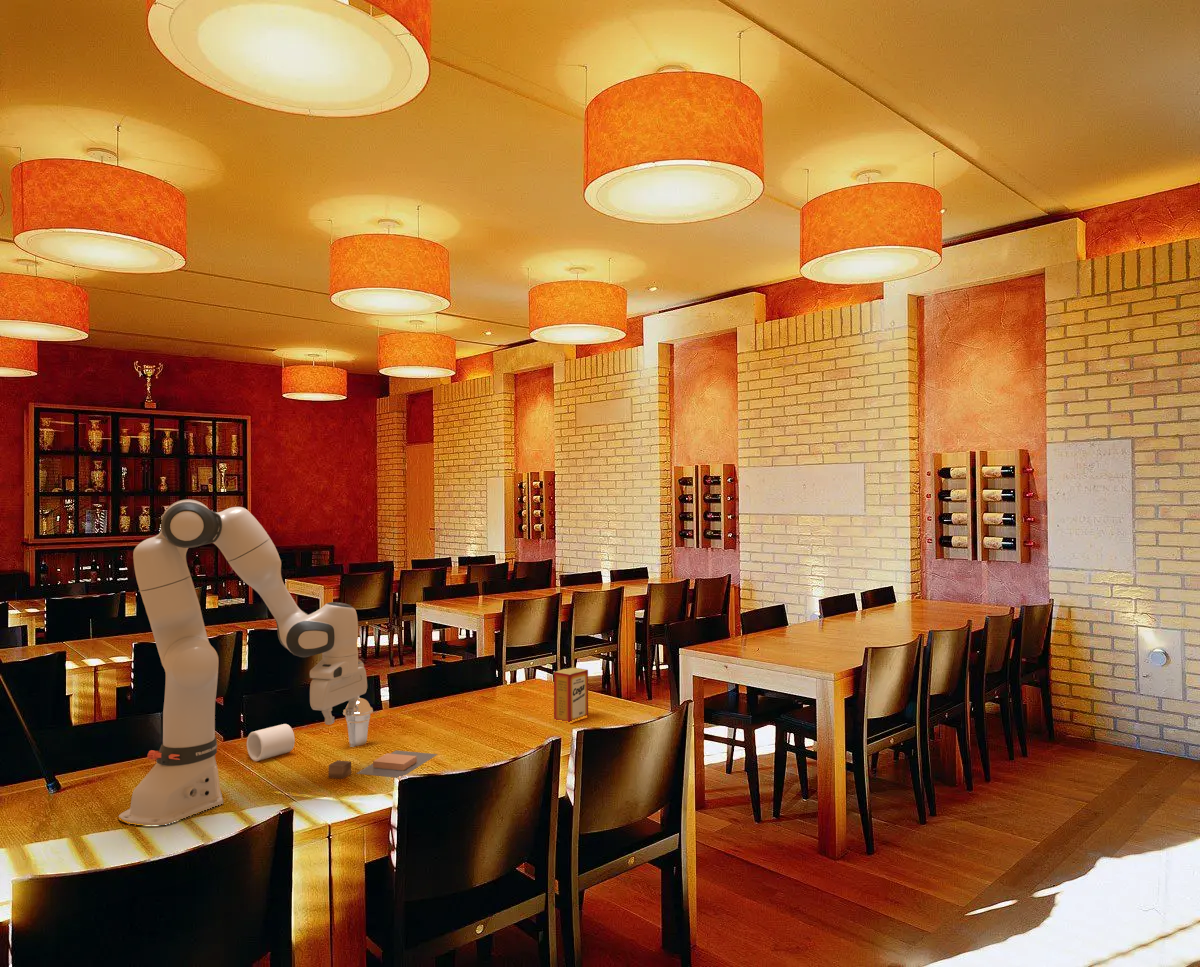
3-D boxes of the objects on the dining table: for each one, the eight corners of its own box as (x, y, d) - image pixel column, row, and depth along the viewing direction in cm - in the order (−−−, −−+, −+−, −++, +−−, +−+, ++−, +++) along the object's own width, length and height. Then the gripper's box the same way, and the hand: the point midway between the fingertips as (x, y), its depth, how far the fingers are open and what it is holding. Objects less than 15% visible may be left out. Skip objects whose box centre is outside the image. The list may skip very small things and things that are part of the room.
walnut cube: (342, 782, 207) (342, 766, 207) (328, 780, 208) (328, 765, 208) (351, 777, 210) (351, 761, 210) (337, 775, 211) (337, 760, 212)
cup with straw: (364, 751, 232) (364, 680, 232) (335, 749, 233) (335, 679, 234) (378, 742, 240) (378, 674, 240) (350, 740, 242) (350, 673, 242)
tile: (403, 764, 212) (416, 756, 219) (373, 761, 215) (387, 753, 221) (403, 770, 212) (416, 762, 219) (373, 767, 215) (387, 759, 221)
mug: (295, 754, 229) (295, 726, 230) (262, 763, 221) (262, 734, 222) (270, 747, 236) (270, 719, 237) (238, 755, 228) (238, 727, 229)
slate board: (400, 781, 207) (400, 777, 207) (355, 776, 211) (355, 773, 211) (437, 757, 226) (437, 754, 226) (396, 753, 230) (396, 750, 230)
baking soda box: (572, 714, 270) (572, 666, 271) (588, 717, 266) (587, 668, 267) (554, 720, 263) (553, 671, 263) (569, 724, 259) (569, 673, 259)
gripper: (352, 657, 220) (352, 708, 220) (305, 672, 201) (304, 729, 201) (373, 658, 219) (373, 710, 218) (327, 674, 199) (327, 731, 199)
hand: (340, 719), depth 209 cm, fingers open, 8 cm apart
